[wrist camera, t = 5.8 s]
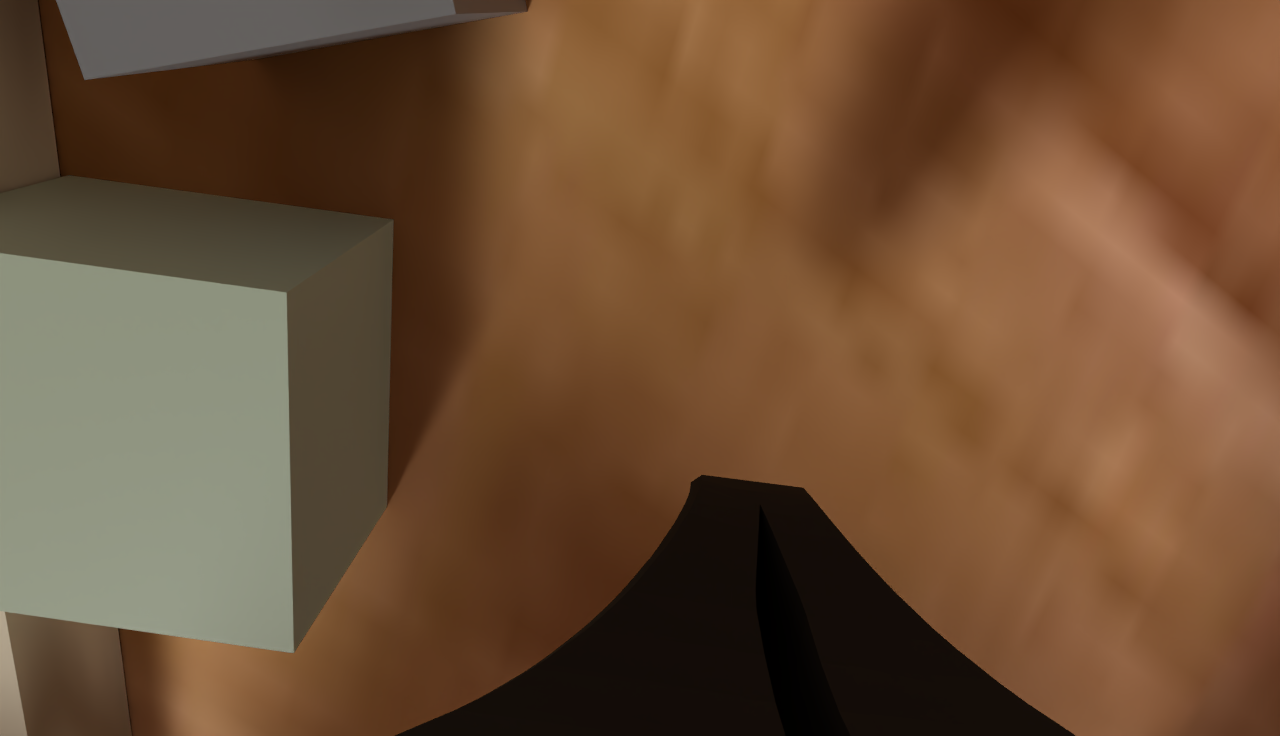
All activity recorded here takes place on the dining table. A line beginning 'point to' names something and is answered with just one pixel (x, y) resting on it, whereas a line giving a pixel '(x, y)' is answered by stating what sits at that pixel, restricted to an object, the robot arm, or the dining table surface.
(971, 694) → the robot arm
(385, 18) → the grey cube
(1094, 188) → the dining table surface
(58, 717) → the maple batten
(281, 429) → the sage block
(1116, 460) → the dining table surface
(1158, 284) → the dining table surface
